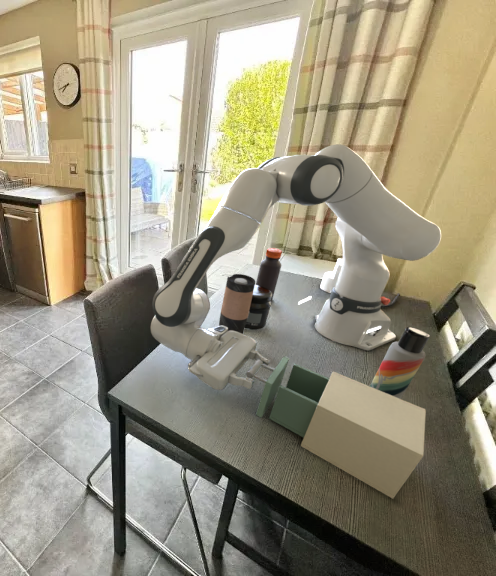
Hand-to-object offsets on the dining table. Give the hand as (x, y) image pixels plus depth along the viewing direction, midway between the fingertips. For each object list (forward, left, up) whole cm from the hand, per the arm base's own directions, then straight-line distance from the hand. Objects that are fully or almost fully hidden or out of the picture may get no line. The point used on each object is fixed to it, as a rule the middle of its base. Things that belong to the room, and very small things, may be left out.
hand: (260, 374), depth 70 cm
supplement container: (-19, -30, -8) cm, 36 cm away
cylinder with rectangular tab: (-68, -44, -8) cm, 81 cm away
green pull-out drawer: (-4, +6, -7) cm, 9 cm away
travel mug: (-8, -24, -8) cm, 26 cm away
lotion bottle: (-29, +7, -8) cm, 31 cm away
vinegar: (-34, -43, -8) cm, 55 cm away
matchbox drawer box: (-11, +16, -8) cm, 21 cm away
